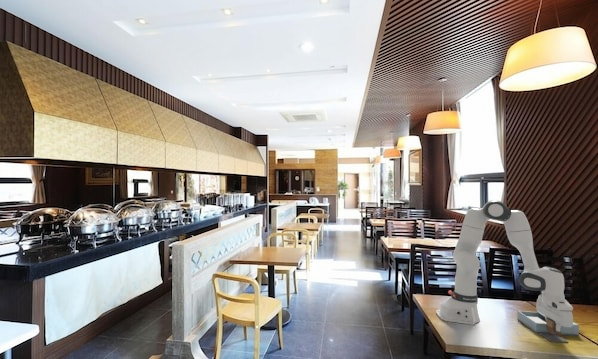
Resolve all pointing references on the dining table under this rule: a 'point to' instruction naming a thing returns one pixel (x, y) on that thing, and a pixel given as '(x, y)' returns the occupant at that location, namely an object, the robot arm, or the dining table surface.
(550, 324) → the walnut block
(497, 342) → the dining table surface
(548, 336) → the pad
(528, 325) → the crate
